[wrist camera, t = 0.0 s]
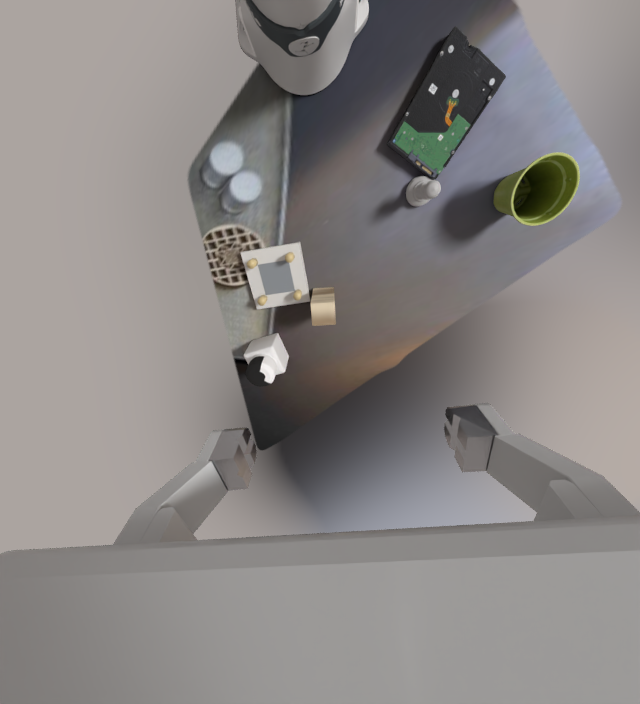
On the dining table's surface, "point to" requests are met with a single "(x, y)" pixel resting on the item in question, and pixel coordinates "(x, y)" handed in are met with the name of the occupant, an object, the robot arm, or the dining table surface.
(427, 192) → the chess piece
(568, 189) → the plant pot
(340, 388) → the dining table surface
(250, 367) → the medicine bottle
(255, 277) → the white pegged board
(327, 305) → the maple block
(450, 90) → the disk drive
